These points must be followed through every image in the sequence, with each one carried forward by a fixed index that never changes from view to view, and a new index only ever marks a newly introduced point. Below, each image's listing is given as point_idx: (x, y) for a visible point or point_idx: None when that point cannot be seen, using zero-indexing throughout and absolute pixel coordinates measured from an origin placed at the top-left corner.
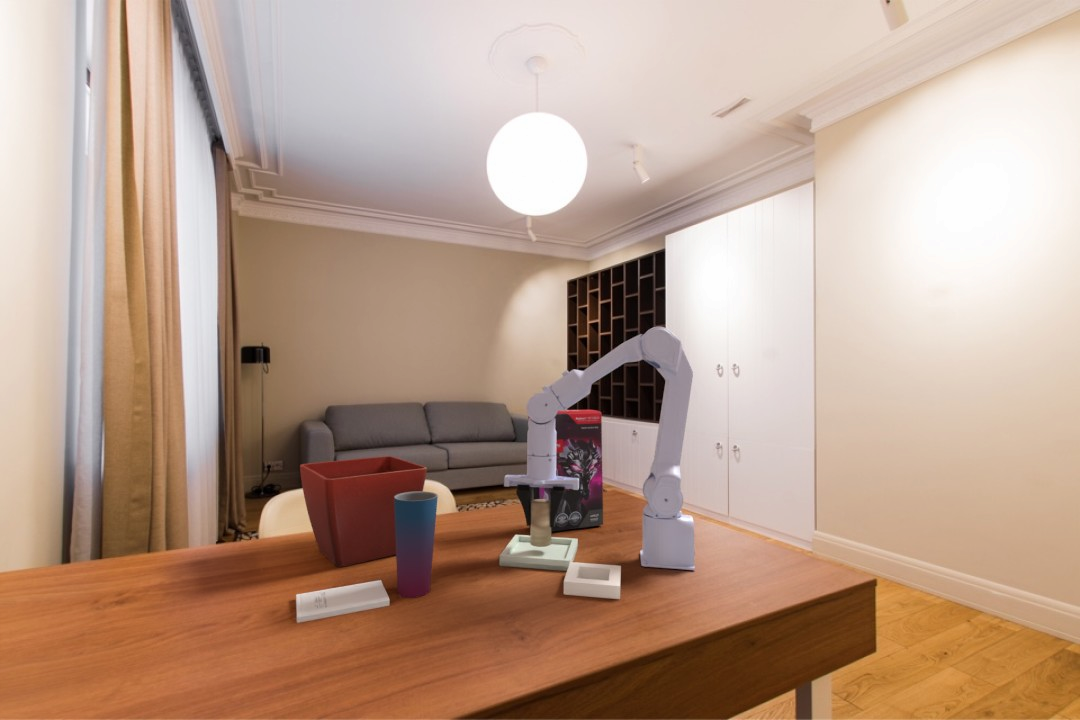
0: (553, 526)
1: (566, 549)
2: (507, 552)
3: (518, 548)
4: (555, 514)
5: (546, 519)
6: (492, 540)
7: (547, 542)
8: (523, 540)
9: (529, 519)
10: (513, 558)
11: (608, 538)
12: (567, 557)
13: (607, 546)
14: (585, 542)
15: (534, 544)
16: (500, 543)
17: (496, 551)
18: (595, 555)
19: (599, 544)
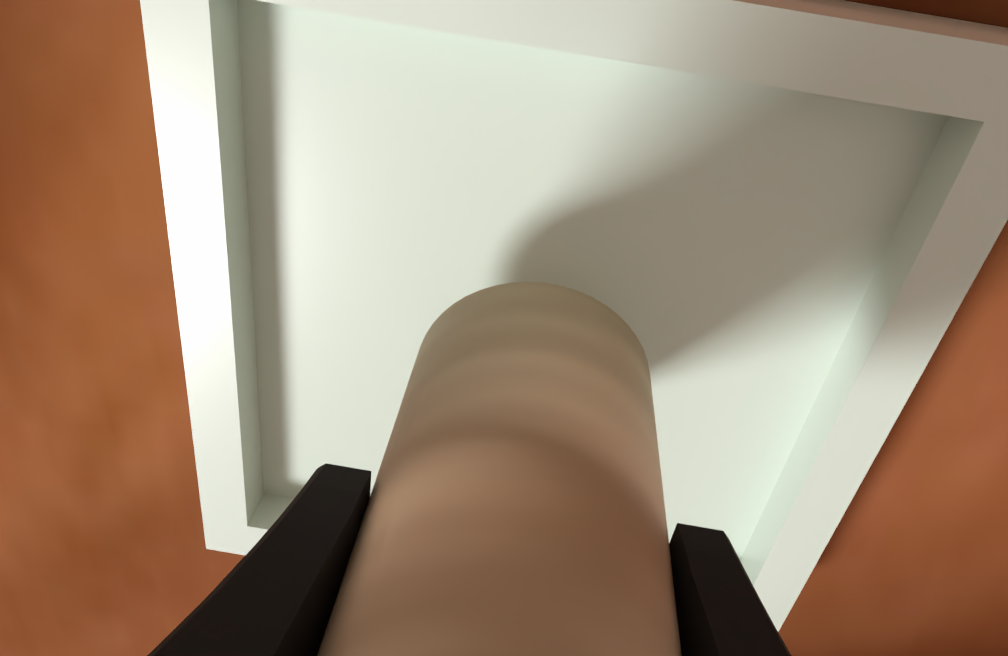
0: (318, 469)
1: (294, 396)
2: (951, 186)
3: (758, 421)
4: (201, 607)
5: (397, 540)
6: (947, 636)
7: (443, 326)
8: None
9: (702, 592)
10: (891, 25)
11: (58, 634)
12: (191, 37)
13: (20, 510)
14: (199, 580)
15: (604, 316)
16: (888, 583)
17: (965, 426)
18: (54, 340)
19: (89, 545)
